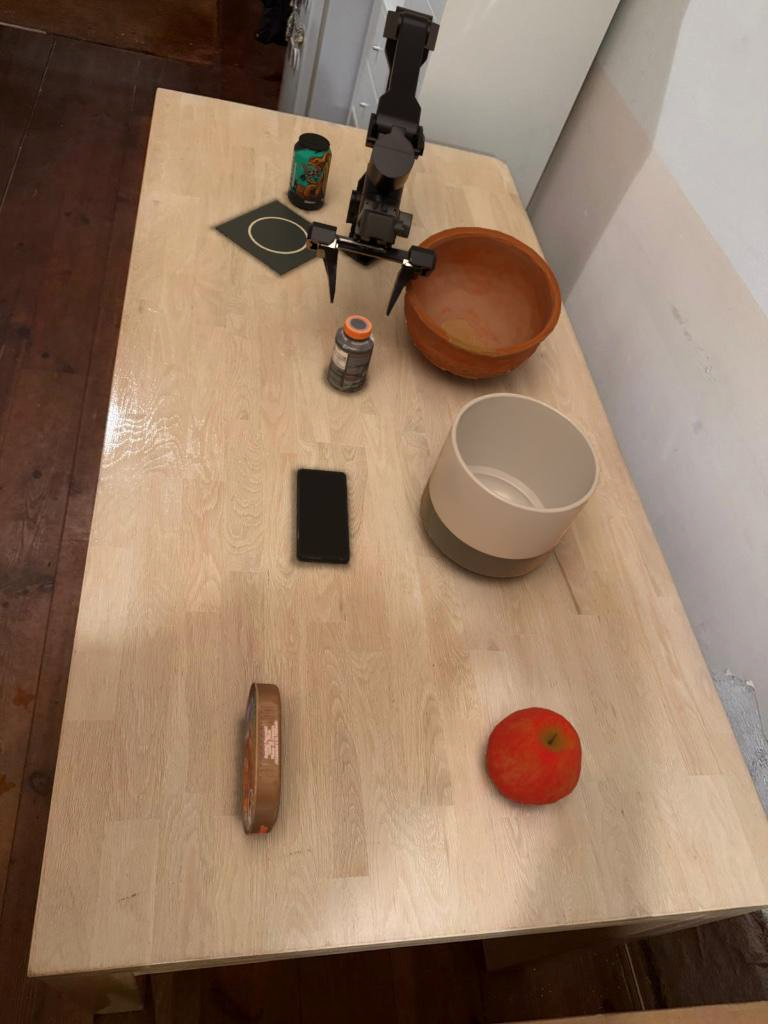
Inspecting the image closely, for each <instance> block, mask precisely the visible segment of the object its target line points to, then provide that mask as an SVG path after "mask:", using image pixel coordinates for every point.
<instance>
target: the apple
mask: <svg viewBox="0 0 768 1024" xmlns="http://www.w3.org/2000/svg"><path fill="white" fill-rule="evenodd" d="M582 751H583V750H582V744H581V738H580V736H579V734H578V732H577V730H576V729H575V727H574V726H573V724H571V722H570V721H568V719H567V718H566V717H564V715H562V714H560V713H558V712H556V711H554V710H551V709H550V708H545V707H539V706H532V707H527V708H523V709H518V710H515V711H514V712H511V713H510V714H509V715H507V716H506V717H504V718H503V719H502V720H500V721H499V722H498V723H497V724H496V725H495V726H494V728H493V729H492V731H491V733H490V735H489V737H488V741H487V746H486V750H485V765H486V769H487V773H488V777H489V778H490V780H491V781H492V782H493V784H494V786H495V787H496V788H497V790H498V791H499V793H500V794H501V795H502V796H504V797H506V798H508V800H510V801H513V802H515V803H519V804H522V805H525V806H545V805H549V804H555V803H557V802H559V801H560V800H562V799H565V798H566V797H567V796H569V795H570V794H572V793H573V791H574V790H575V788H576V787H577V785H578V783H579V781H580V776H581V772H582V757H583V753H582Z"/></svg>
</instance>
